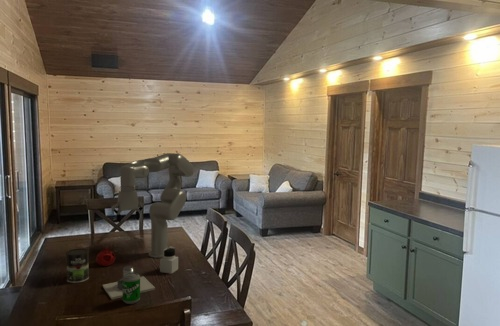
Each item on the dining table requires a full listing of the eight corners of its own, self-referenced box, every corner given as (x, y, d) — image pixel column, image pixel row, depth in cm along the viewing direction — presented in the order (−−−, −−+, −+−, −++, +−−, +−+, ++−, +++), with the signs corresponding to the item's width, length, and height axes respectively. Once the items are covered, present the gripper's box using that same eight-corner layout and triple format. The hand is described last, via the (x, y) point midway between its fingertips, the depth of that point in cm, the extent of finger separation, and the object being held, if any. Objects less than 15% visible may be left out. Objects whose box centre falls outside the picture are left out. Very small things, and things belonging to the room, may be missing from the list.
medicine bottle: (178, 269, 211) (178, 247, 210) (171, 274, 205) (171, 251, 203) (166, 267, 214) (166, 246, 212) (159, 272, 207) (159, 250, 206)
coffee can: (90, 281, 194) (89, 253, 192) (67, 284, 189) (66, 256, 187) (88, 273, 203) (87, 247, 201) (66, 277, 198) (65, 249, 197)
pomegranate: (92, 265, 215) (91, 249, 214) (106, 260, 224) (106, 244, 223) (105, 268, 210) (104, 251, 209) (119, 262, 219) (118, 246, 218)
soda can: (124, 297, 176) (124, 271, 175) (141, 297, 177) (141, 271, 176) (120, 305, 169) (120, 278, 168) (138, 304, 169) (138, 278, 168)
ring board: (143, 278, 198) (143, 271, 198) (154, 289, 185) (154, 282, 185) (102, 286, 187) (102, 279, 187) (111, 299, 174) (111, 291, 174)
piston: (132, 283, 190) (132, 265, 189) (135, 286, 185) (135, 268, 184) (121, 285, 187) (121, 267, 186) (125, 289, 183) (124, 270, 182)
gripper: (141, 186, 216) (141, 217, 217) (109, 188, 206) (109, 220, 208) (146, 188, 209) (146, 219, 211) (113, 191, 200) (113, 223, 201)
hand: (128, 220), depth 209 cm, fingers open, 9 cm apart
